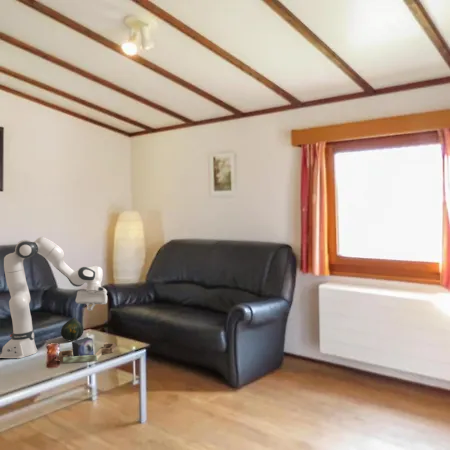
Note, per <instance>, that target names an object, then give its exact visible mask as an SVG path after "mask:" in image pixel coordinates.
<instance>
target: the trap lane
mask: <svg viewBox="0 0 450 450" xmlns="http://www.w3.org/2000/svg"><path fill="white" fill-rule="evenodd" d="M116 349H117V343H115V342H110V343H108V341H105V342H104V343H103V348H102V347H101V348H99V349H98V351H97V352H96V353H95V354H94V355H87V356H74V357H73V348H72V349H70V350H68V349H67V350H59V352H58V353H59V360H60V361H61V362H63V364H69V363H82V362H95V360H97V361H98V360H99V359H100V357H101V356H102V355H106V354H109V355H110V354H113V353H114V351H115V350H116Z"/></svg>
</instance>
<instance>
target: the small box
mask: <svg viewBox="0 0 450 450" xmlns="http://www.w3.org/2000/svg"><path fill="white" fill-rule="evenodd" d="M93 340H94V339H93V338H90V337H88V336H86V337H83V338H78V339H75V340H72V342H71V345H72V349H73V356H72V357H74V356H87V355H95V354H94V353H95V352H94V343H93Z"/></svg>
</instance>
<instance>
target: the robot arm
mask: <svg viewBox="0 0 450 450" xmlns="http://www.w3.org/2000/svg"><path fill="white" fill-rule="evenodd" d="M37 254H39V255H40V256H42V257H43V258H45V260H47V261H48V262H50V263H51V264H52V266H53V267H54V268H55V269H56V270H57V271H59V272H60V273H61V274H62V275H63V276H64V277H66V279H68V281H69V282H70V284H71V285H72V286H74V287H76V288H79V287H82V286H83V285H84V284H87V285H86V289H78V290H77V292H76V297H75V303H76V304H77V305H79V304H81V305H82V304H83V305H86V306H87V308H86V309H87V311H93V310H94V307H95V306H96V305H107V304H108V295H107V294H108V290H107V289H106V288H105V287H102V281H103V277H104V276H103V274H104V270H103V268H102V267H100V266H99V265H93V266H90V267H89V266H88V267H87V266H82V267H80V268H78V269H76V270H74V269H72V268H71V267H70V266H69V264H67V263H66V262H65V260H64V258H65V252H64V249H63V248H62V247H61V246H59V245H58V244H56V243H55V241H52V240H51V239H49V238H47V237H44V236H40V237H38V238H36V240H34V241H30V240H27V239H23V240H22V239H21V240H20V241H19V242H18V243H17V244H16V245H15V248H14V251H13V252H10V253H8V254H6V255H5V256H4V258H3V270H4V274H5V275H4V277H5V281H6V285H7V289H8V292H9V295H10V299H9V301H8V305H9V311H10V317H11V321H12V330H13V332H12V333H11V334H10V335H9V338H11V339H10V340H8V342H6V343H5V345H3V346H2V350H1V353H0V358H17V359H22V358H25V357H30V356H32V355H35V354H36V353H37V352H38V349H37V346H36V342H35V332H34V328H33V320H32V318H33V317H32V315H31V310H30V303H31V294H30V290H29V286H28V282H27V279H26V278H27V277H26V272H25V267H24V260H25V259H29V258H32V257H33V256H34V255H37ZM90 305H91V306H90Z"/></svg>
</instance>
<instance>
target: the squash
mask: <svg viewBox="0 0 450 450" xmlns="http://www.w3.org/2000/svg"><path fill="white" fill-rule="evenodd" d="M83 327H84V326H83V325H82V323H81V322H80V321H79V320H78V319H77V318H76V317H72V318H71V319H69V320H68V321H66V322H65V323H64V324H63V325H62V327H61V330H60V336H61V337H62V339H65V340H66V341H67V340H71V341H76V340H79V339H81V337H83V333H84V328H83Z"/></svg>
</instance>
